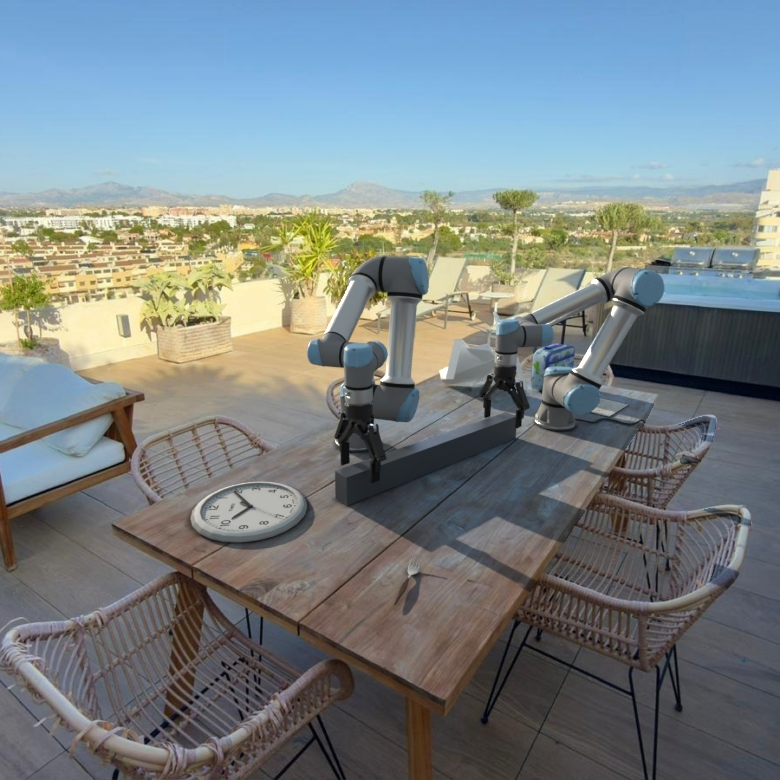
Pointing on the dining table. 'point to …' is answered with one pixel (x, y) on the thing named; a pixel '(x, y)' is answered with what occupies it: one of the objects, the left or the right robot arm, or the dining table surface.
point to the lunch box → (550, 361)
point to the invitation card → (608, 407)
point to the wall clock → (248, 512)
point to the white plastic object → (473, 363)
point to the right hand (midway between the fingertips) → (502, 422)
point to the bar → (423, 457)
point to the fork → (412, 571)
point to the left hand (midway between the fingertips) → (359, 472)
